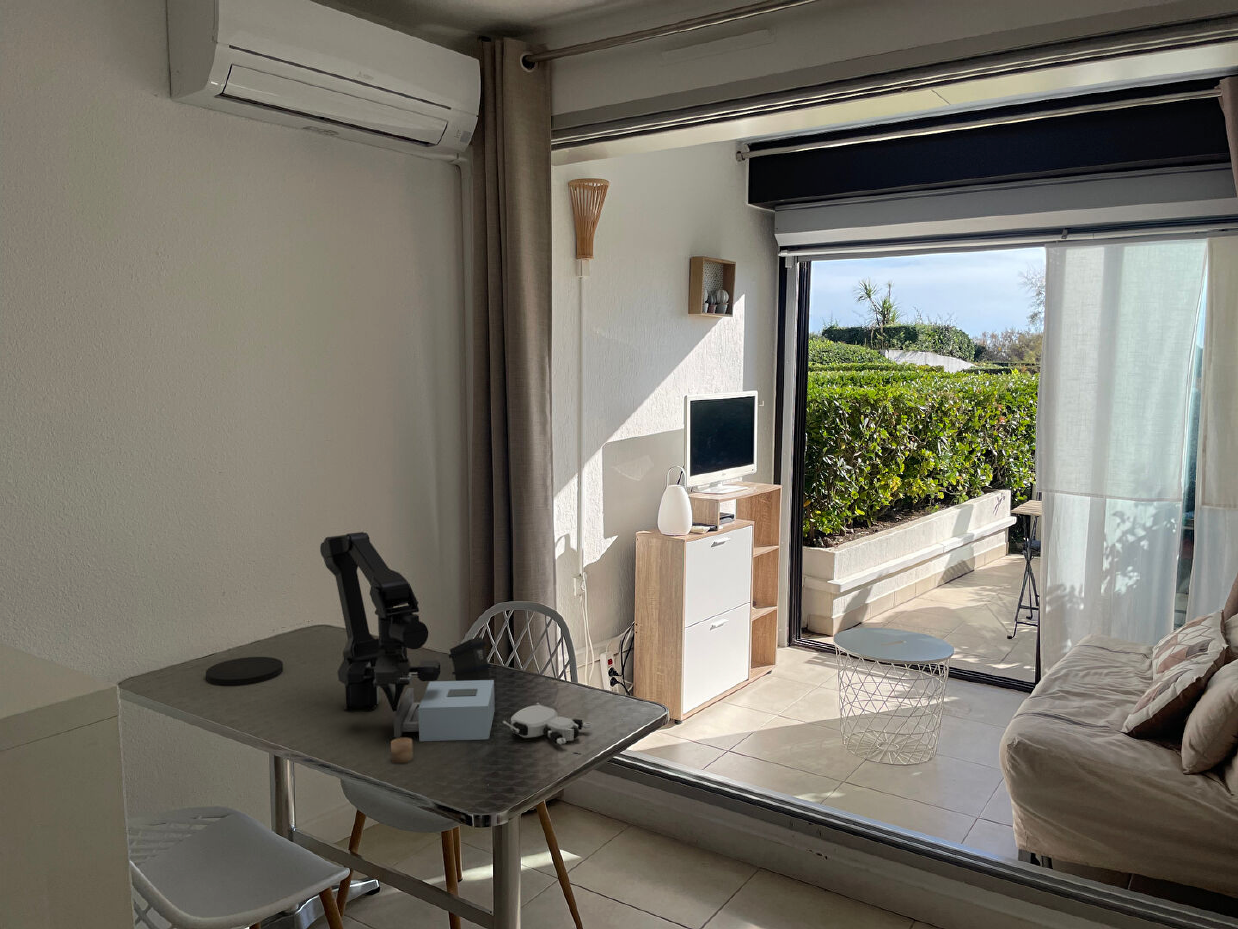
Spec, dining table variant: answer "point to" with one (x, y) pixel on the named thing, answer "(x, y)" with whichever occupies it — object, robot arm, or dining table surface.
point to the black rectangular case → (470, 661)
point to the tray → (406, 715)
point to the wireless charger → (244, 671)
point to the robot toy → (545, 724)
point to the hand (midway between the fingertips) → (395, 711)
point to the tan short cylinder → (401, 750)
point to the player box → (456, 710)
